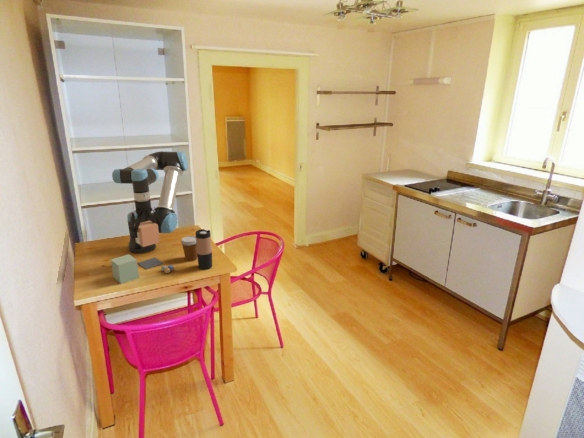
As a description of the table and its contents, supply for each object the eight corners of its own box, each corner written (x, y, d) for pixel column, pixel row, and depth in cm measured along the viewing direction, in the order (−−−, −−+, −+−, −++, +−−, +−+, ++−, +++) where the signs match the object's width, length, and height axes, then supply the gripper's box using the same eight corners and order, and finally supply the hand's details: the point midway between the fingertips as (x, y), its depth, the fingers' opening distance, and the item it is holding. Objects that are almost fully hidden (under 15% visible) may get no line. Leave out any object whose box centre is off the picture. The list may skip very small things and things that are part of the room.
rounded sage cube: (113, 277, 185) (110, 259, 182) (131, 271, 191) (128, 254, 188) (120, 284, 179) (118, 265, 176) (139, 277, 185) (136, 259, 182)
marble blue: (166, 270, 194) (166, 265, 193) (172, 268, 196) (171, 263, 195) (169, 272, 192) (169, 266, 191) (175, 270, 194) (174, 265, 193)
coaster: (137, 263, 201) (137, 262, 201) (155, 258, 208) (155, 257, 207) (145, 269, 194) (145, 268, 194) (163, 263, 201) (163, 262, 201)
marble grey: (160, 271, 193) (159, 265, 192) (165, 269, 195) (165, 264, 194) (163, 272, 191) (162, 267, 190) (168, 271, 193) (168, 265, 192)
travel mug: (200, 271, 193) (197, 235, 186) (196, 265, 199) (193, 230, 193) (214, 268, 196) (212, 232, 190) (210, 262, 203) (208, 228, 196)
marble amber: (163, 273, 191) (162, 267, 190) (168, 271, 193) (168, 265, 192) (166, 274, 189) (165, 269, 188) (171, 273, 191) (171, 267, 190)
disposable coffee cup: (195, 263, 202) (193, 242, 198) (179, 261, 204) (177, 241, 200) (203, 256, 211) (201, 236, 207) (187, 254, 212) (185, 235, 208)
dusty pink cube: (135, 242, 197) (133, 224, 193) (152, 237, 203) (149, 220, 199) (143, 247, 191) (141, 228, 187) (159, 242, 197) (157, 224, 194)
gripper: (124, 205, 179) (130, 248, 187) (165, 197, 194) (170, 237, 201) (117, 202, 184) (124, 244, 191) (159, 194, 199) (163, 233, 206)
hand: (147, 240), depth 196 cm, fingers closed on dusty pink cube, 9 cm apart
